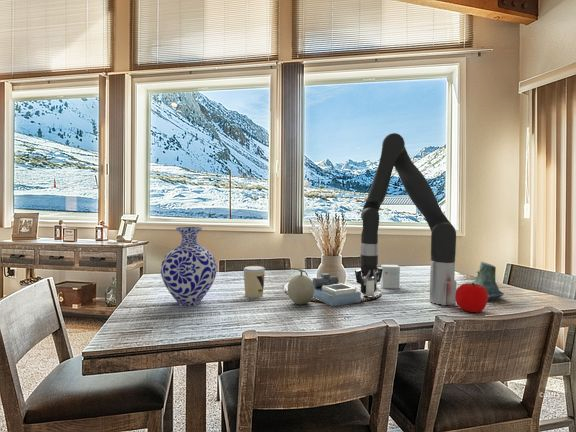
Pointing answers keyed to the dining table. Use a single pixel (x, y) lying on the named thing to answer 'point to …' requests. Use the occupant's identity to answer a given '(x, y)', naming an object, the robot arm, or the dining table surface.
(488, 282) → the tree stump
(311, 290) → the fruit
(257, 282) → the coffee cup
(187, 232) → the vase
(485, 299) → the tomato
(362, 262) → the robot arm
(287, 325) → the dining table surface
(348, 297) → the motor housing
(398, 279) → the small box
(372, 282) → the pump module
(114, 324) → the dining table surface
